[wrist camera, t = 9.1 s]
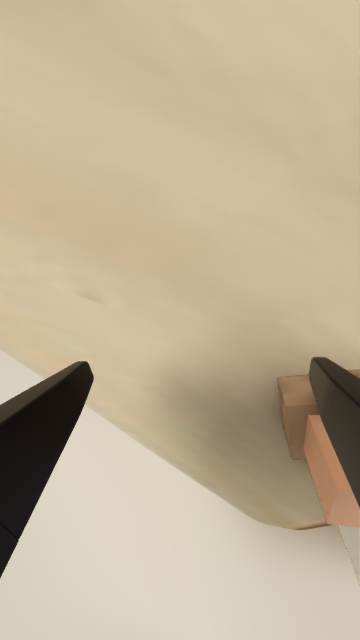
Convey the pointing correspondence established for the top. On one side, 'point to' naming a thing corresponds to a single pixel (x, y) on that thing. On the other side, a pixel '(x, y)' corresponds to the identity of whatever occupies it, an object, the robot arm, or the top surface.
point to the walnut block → (297, 409)
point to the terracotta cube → (329, 476)
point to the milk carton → (352, 546)
